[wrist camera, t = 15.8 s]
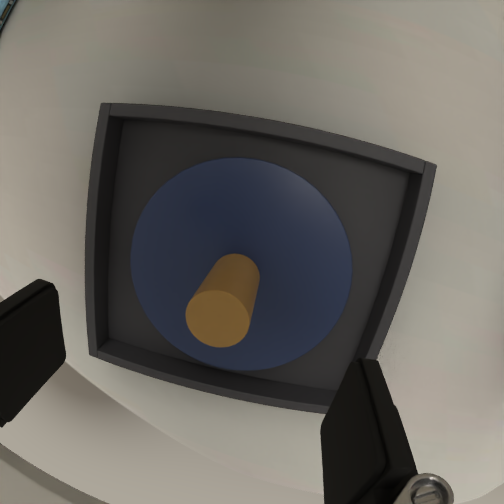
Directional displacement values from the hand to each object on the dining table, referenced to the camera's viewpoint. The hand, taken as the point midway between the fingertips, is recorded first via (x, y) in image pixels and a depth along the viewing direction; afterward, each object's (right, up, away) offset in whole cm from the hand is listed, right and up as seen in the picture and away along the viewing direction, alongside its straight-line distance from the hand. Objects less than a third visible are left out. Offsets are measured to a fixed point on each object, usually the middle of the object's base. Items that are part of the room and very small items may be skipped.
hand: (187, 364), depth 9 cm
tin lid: (+1, +2, +10) cm, 11 cm away
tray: (+1, +2, +11) cm, 12 cm away
